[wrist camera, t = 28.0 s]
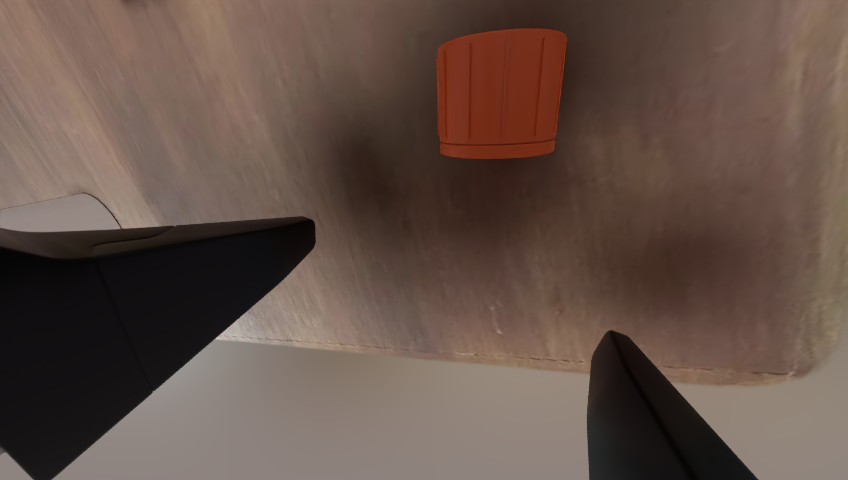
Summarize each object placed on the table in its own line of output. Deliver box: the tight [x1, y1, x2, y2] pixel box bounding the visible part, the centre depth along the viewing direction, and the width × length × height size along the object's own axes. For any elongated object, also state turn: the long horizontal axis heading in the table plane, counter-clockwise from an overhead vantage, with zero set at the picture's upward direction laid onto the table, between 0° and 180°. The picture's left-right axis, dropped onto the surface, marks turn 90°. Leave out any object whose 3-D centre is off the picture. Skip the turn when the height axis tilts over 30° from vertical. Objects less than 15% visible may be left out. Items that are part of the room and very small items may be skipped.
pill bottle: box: [0, 193, 121, 232], centre depth 27 cm, size 8×8×11 cm
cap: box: [436, 28, 567, 159], centre depth 10 cm, size 4×4×3 cm
